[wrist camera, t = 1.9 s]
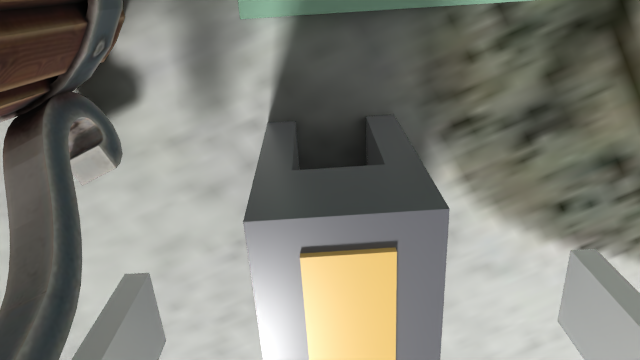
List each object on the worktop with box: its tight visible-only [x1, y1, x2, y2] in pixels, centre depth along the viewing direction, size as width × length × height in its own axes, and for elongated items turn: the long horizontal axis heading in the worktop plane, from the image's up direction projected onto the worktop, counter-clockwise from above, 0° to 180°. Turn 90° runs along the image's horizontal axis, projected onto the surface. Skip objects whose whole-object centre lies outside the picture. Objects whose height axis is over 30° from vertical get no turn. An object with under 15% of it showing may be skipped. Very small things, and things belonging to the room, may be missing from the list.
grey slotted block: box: [243, 115, 449, 360], centre depth 17 cm, size 5×8×8 cm, turn 3°
